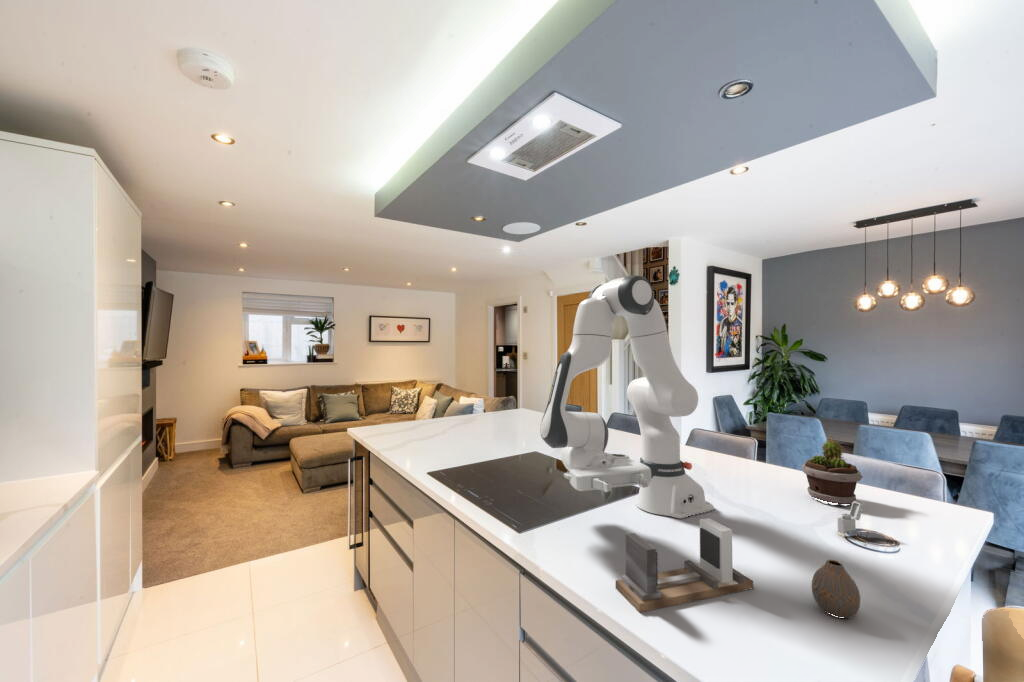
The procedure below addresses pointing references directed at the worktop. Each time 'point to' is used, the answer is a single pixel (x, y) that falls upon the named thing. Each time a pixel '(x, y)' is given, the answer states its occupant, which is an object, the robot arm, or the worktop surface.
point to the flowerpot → (831, 475)
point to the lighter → (850, 518)
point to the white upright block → (716, 550)
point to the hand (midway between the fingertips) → (628, 486)
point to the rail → (668, 580)
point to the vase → (835, 590)
